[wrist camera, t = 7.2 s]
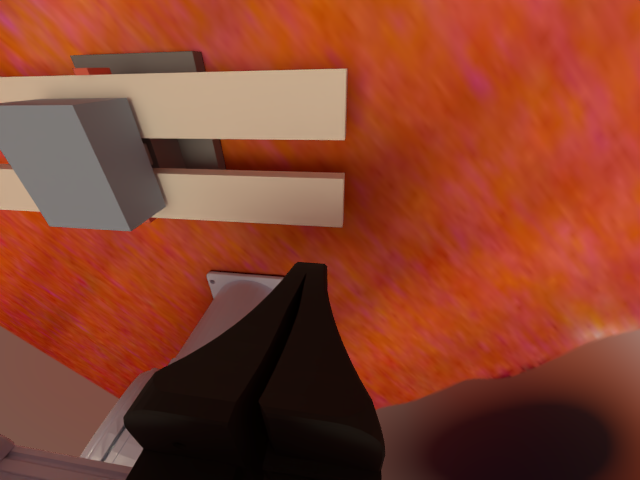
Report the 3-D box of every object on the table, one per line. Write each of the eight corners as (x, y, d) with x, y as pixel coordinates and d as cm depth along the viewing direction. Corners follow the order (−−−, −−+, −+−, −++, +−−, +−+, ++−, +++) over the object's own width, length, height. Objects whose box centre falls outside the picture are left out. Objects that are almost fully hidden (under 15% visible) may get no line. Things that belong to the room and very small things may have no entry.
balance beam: (351, 46, 15) (346, 40, 11) (346, 209, 20) (341, 243, 16) (-32, 60, 18) (-139, 58, 15) (50, 196, 24) (-11, 221, 20)
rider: (137, 96, 14) (72, 104, 11) (173, 201, 17) (130, 231, 14) (55, 97, 15) (-29, 105, 12) (105, 198, 18) (49, 226, 15)
